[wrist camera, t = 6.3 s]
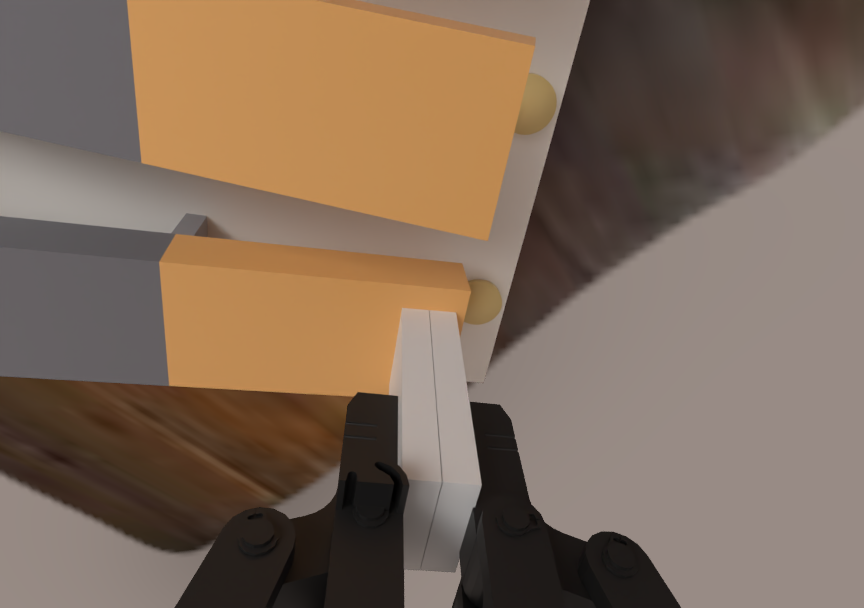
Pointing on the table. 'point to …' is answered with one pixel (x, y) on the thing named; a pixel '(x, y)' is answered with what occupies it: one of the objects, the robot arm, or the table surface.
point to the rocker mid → (277, 97)
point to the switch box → (314, 222)
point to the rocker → (207, 309)
